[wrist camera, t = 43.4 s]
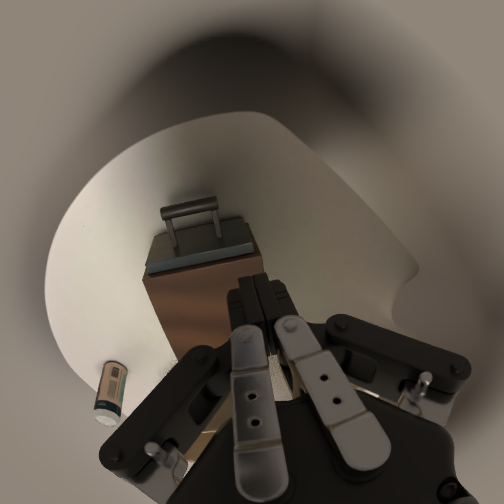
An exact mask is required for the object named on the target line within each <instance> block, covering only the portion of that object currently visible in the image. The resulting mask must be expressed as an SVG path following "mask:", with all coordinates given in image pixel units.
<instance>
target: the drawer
mask: <svg viewBox="0 0 504 504" xmlns="http://www.w3.org/2000/svg"><path fill="white" fill-rule="evenodd" d="M217 209H218V202H217V197H216V196H212V197H207V198H202V199H197V200H193V201H188V202H184V203H179V204H175V205H170V206H166V207H162V208H160V213H161V217H162V220H163V221H164V220H165V222H166V226H167V229H168V233H166V234H162V235H158V236H155V237H154V239H153V242H152V245H151V248H150V251H149V254H148V257H147V260H146V264H145V266H146V269H147V271H148V274H151V273H156V272H165V271H170V270H175V269H180V268H185V267H190V266H195V265H199V264H204V263H209V262H214V261H219V260H224V259H228V258H233V257H238V256H243V255H246V254H248V253H253V252H254V248H253V242H252V239H251V237H250V234H249V232H248V229H247V227H246V224H245V222H244V219H243V218H237V219H232V220H227V221H223V222H219V217H218V212H217ZM210 210H211V212H212V217H213V221H214V223H213V224H208V225H203V226H199V227H194V228H189V229H185V230H180V231H174V227H173V224H172V220H171V219H173V218H177V217H182V216H187V215H191V214H196V213H200V212H205V211H210Z"/></svg>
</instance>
